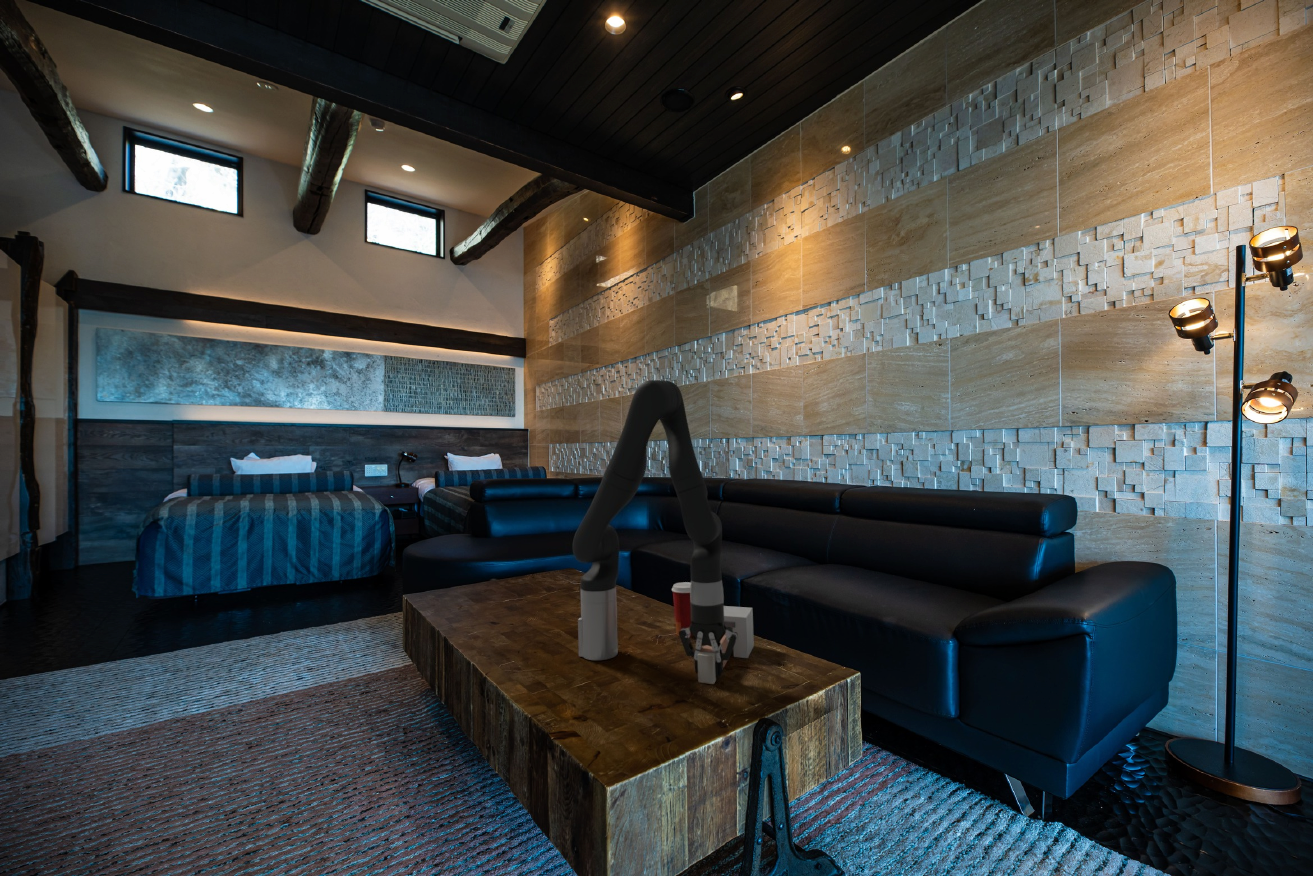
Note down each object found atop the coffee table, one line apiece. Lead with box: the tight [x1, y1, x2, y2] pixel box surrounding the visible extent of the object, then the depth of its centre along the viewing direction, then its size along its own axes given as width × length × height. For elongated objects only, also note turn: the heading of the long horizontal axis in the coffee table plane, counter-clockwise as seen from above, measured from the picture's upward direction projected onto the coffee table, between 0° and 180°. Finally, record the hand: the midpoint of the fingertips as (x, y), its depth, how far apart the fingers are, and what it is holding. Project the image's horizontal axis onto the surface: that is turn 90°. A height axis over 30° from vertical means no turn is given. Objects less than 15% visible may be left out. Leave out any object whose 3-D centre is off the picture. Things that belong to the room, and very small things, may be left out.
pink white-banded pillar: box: [697, 635, 729, 685], centre depth 128 cm, size 4×16×6 cm, turn 160°
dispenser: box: [724, 605, 755, 659], centre depth 141 cm, size 12×10×10 cm
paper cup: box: [671, 581, 694, 638], centre depth 154 cm, size 8×8×14 cm
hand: (709, 676), depth 123 cm, fingers closed on pink white-banded pillar, 3 cm apart
